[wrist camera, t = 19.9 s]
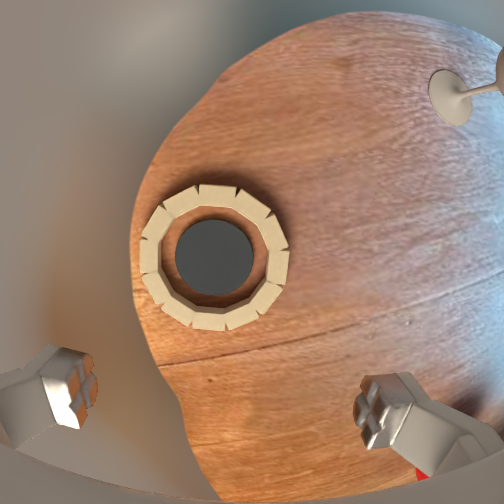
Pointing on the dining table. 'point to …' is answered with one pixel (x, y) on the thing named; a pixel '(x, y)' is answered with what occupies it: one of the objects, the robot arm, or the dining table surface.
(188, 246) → the coaster
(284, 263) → the hoop
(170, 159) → the dining table surface
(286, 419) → the dining table surface
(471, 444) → the robot arm
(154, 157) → the dining table surface
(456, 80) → the wineglass
